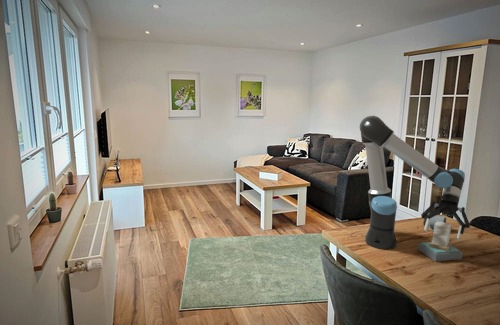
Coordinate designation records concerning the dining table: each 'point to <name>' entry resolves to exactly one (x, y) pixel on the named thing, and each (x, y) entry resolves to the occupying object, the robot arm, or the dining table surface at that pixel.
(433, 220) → the ceramic mug
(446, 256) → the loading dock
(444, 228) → the pallet
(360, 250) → the dining table surface
